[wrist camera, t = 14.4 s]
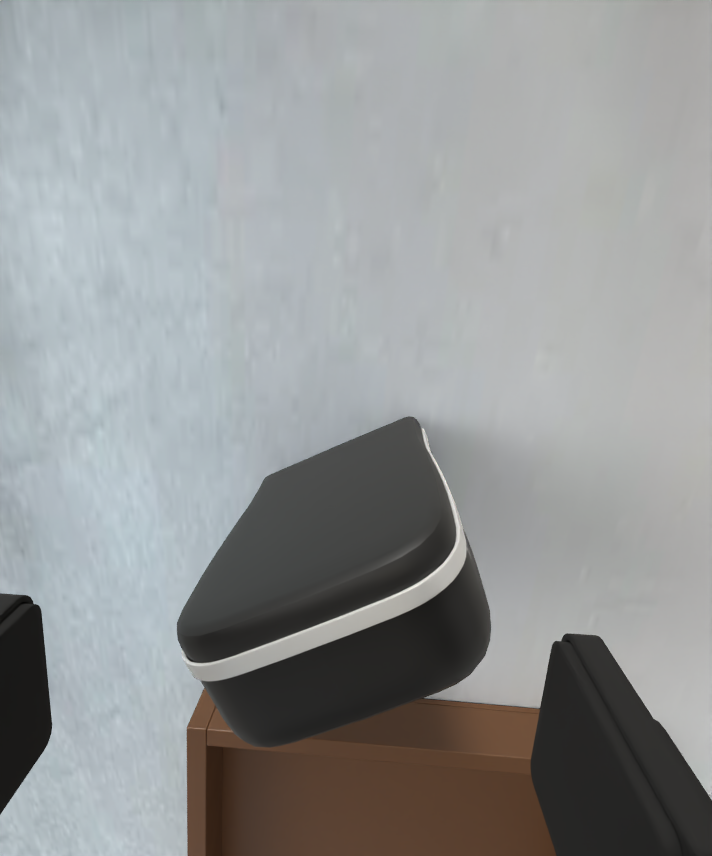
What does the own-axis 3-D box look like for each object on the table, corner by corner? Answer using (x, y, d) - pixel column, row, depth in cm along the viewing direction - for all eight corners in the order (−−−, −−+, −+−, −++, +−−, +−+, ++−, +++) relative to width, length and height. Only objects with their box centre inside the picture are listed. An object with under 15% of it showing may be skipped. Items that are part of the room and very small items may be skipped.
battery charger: (298, 557, 23) (224, 805, 12) (257, 477, 22) (137, 662, 11) (456, 494, 22) (535, 699, 11) (419, 408, 21) (463, 535, 10)
